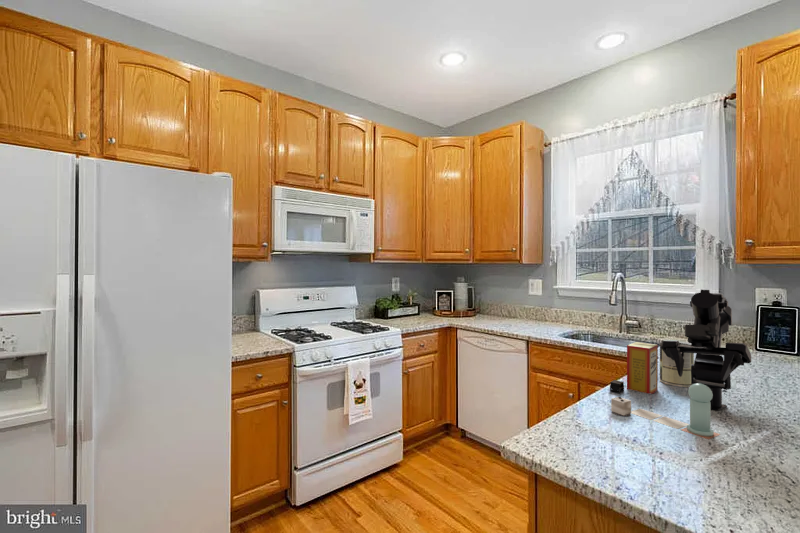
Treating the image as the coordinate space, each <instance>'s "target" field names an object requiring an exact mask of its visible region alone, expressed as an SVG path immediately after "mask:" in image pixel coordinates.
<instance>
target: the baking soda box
mask: <svg viewBox="0 0 800 533" xmlns="http://www.w3.org/2000/svg"><path fill="white" fill-rule="evenodd" d="M658 346H659V345H658V344H654V343H647V342H641V341H640V342H639V341H635V342H632V343H630V344H627V345H626V390H631V391H635V392H639V393H643V394H651V395H654V394H655V393H656V392H658V386H659V384H658V378H659V377H658V374H659V373H658V371H659V370H658V368H659V367H658V366H659V365H658V360H659V359H658V358H659V355H658V351H659V350H658V348H659V347H658Z"/></svg>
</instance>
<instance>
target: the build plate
mask: <svg viewBox="0 0 800 533" xmlns="http://www.w3.org/2000/svg"><path fill="white" fill-rule="evenodd" d="M624 384H625V383H624V381H621V380H615V379H613V380H611V381H610V383H609V392H610V393H615V394H619V395H620V394H621V391H622V392H624V391H625V385H624Z"/></svg>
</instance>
